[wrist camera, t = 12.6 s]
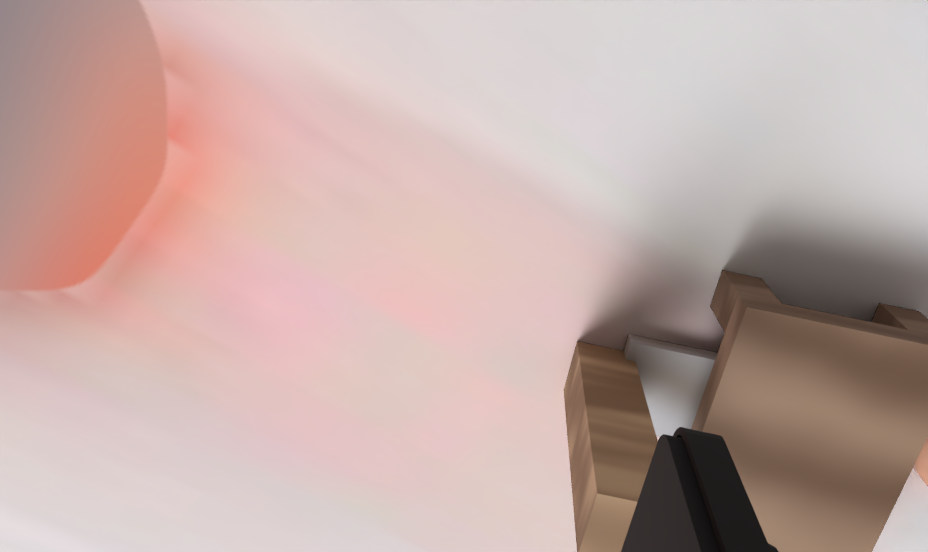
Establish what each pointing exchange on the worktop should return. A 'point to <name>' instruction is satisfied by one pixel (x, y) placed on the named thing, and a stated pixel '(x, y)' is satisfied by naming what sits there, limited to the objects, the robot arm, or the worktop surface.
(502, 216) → the worktop surface
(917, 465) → the terracotta puck
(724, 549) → the robot arm
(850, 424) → the wooden bench
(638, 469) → the blade tool
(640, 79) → the worktop surface
